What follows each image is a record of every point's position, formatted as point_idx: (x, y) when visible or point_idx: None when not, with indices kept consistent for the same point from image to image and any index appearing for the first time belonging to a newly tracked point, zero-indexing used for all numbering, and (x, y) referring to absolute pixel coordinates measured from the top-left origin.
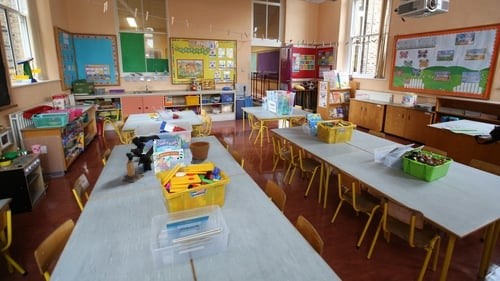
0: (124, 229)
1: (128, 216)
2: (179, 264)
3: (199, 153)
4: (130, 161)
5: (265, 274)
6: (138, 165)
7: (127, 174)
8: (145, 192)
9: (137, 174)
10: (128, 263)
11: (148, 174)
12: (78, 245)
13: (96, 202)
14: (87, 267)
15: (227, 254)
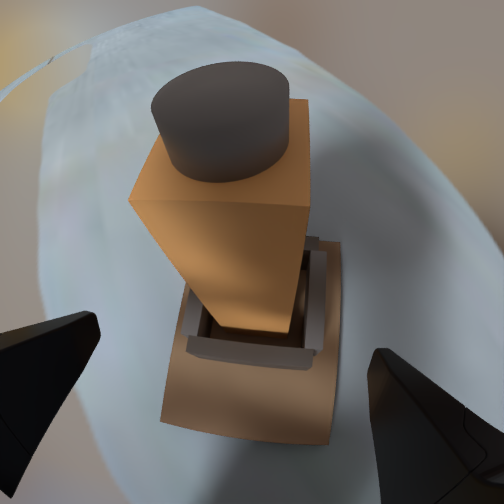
0: (131, 42)
1: (131, 55)
2: (61, 55)
3: None
4: (169, 85)
5: (5, 87)
6: (91, 322)
7: (321, 297)
8: (89, 144)
9: (183, 329)
10: (114, 31)
11: (136, 458)
12: (200, 14)
13: (283, 58)
14: (163, 14)
15: (15, 85)
